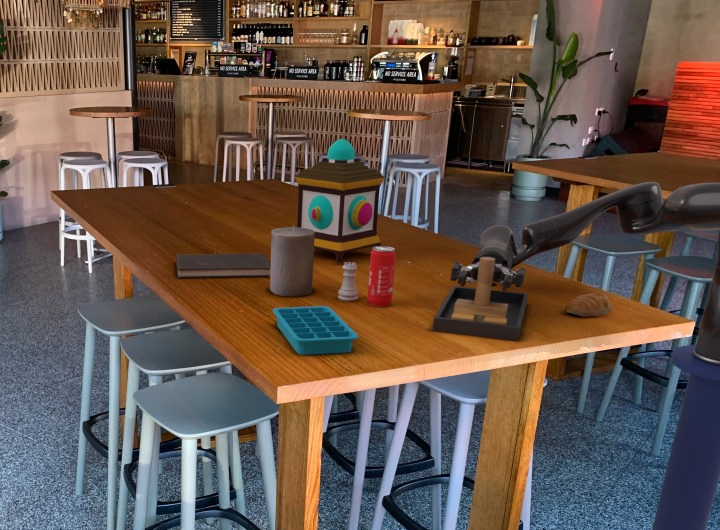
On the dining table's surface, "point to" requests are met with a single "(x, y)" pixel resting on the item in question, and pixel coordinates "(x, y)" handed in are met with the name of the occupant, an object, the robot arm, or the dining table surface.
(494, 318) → the block
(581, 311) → the pastry
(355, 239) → the decorative lantern
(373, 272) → the beverage can
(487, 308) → the brush
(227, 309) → the dining table surface
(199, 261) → the hardcover book
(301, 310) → the ice cube tray
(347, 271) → the rook chess piece
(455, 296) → the tray
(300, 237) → the pillar candle
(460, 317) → the light wooden block
